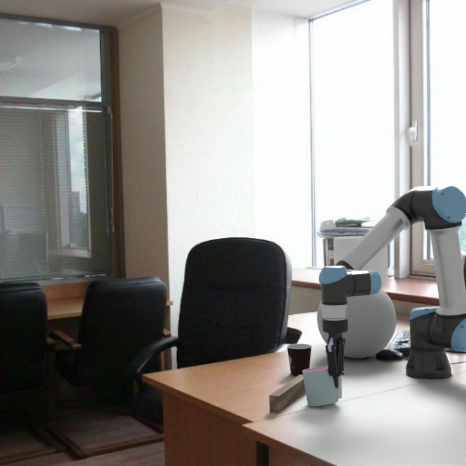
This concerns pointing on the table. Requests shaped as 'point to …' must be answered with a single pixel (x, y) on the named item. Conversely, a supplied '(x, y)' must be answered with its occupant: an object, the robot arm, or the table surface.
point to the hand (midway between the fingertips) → (337, 397)
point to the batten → (287, 394)
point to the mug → (319, 386)
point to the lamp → (347, 243)
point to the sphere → (366, 324)
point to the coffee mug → (299, 358)
